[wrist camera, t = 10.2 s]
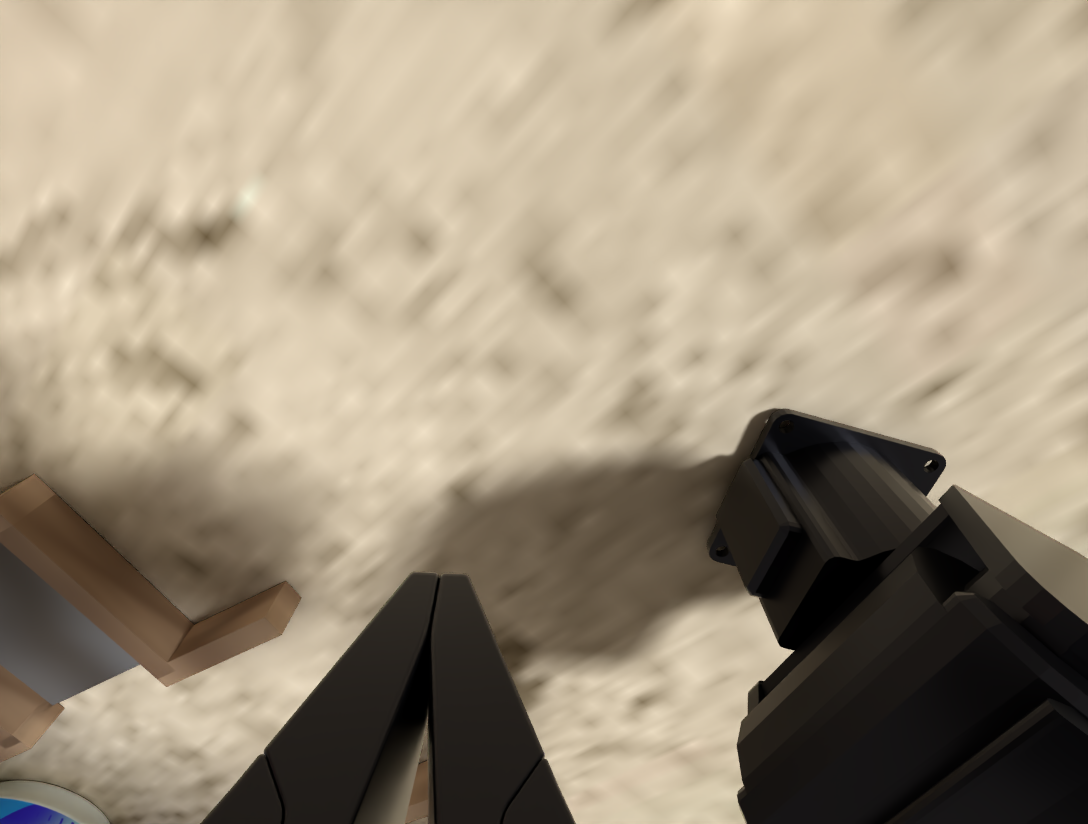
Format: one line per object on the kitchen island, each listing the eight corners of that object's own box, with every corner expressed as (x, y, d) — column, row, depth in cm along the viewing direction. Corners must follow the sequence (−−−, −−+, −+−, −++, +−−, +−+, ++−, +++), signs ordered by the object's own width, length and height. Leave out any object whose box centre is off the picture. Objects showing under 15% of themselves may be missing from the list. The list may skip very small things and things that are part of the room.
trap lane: (131, 415, 21) (45, 474, 18) (543, 856, 32) (542, 948, 29) (-314, 682, 28) (-445, 766, 24) (159, 976, 39) (118, 1064, 35)
